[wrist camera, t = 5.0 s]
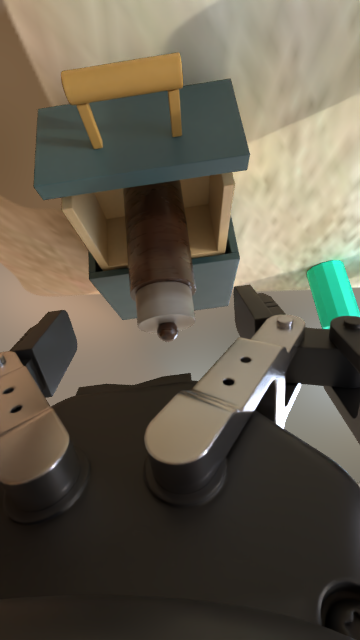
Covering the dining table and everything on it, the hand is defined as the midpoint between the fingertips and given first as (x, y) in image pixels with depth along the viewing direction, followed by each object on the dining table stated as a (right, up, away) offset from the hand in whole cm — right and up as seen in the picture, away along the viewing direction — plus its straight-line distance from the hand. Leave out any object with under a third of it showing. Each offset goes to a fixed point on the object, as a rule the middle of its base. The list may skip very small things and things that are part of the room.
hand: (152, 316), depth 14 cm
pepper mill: (-1, +12, +12) cm, 17 cm away
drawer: (-2, +14, +9) cm, 17 cm away
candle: (+27, +9, +37) cm, 47 cm away
